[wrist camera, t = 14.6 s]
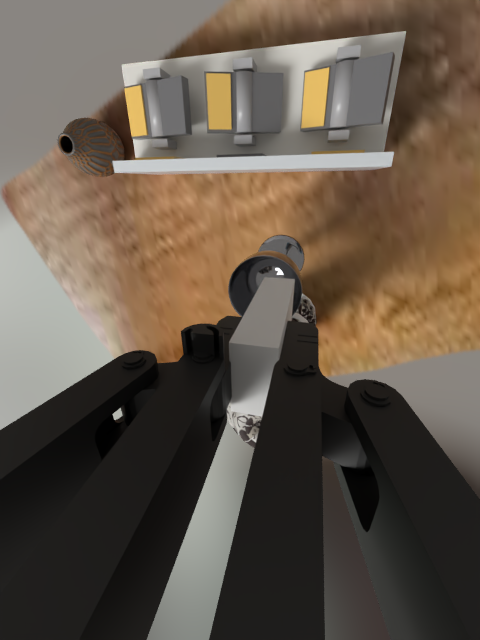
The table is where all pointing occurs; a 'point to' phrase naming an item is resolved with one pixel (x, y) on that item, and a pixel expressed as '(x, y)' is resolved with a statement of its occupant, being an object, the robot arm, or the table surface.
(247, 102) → the switch middle
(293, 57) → the switch unit
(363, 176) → the table surface
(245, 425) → the decorative candle
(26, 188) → the table surface
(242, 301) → the wine glass
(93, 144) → the vase
